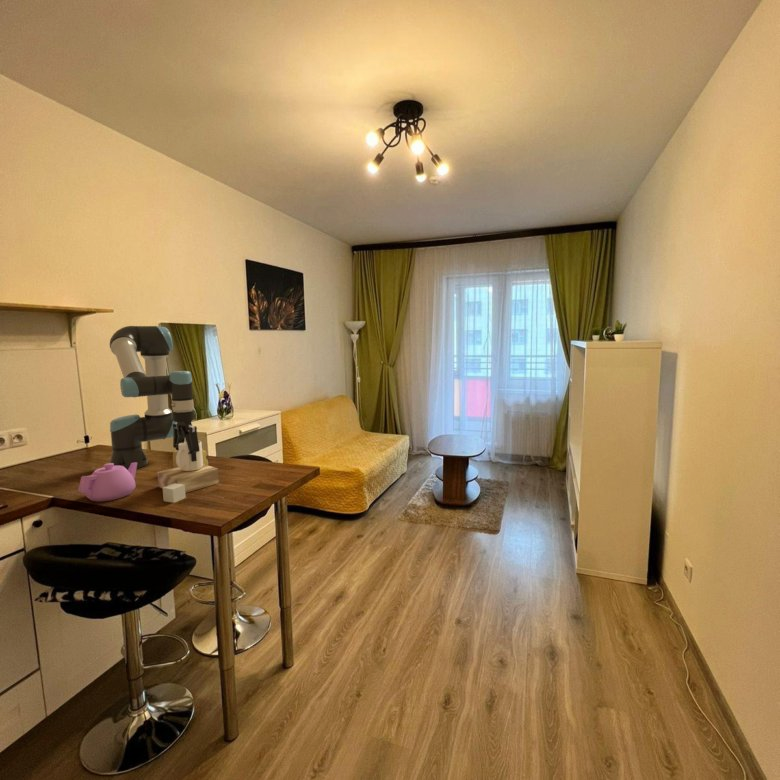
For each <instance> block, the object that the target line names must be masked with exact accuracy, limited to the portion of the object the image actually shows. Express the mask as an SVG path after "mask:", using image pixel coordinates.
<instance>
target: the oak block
mask: <svg viewBox="0 0 780 780" xmlns="http://www.w3.org/2000/svg"><path fill="white" fill-rule="evenodd" d="M156 473H157V486H158V488H160V489H162V490H163V487H166V486H169V485H171V484H174V483H176V484H183V485H185V494H188V493H190V492H194V491H197V490H200V489H203V488H207V487H210V486H213V485H216V484H219V483H220V482H219V481H220V480H219V468H218V467H215V466H211V465H209V464H208V465H204V464H203V467H202V468H200V469H198V470H193V471H183V470H181V469H180V468H179V467H176V468H174V467H172V468H169V469H164V470H161V471H157V472H156Z"/></svg>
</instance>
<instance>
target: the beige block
mask: <svg viewBox="0 0 780 780" xmlns="http://www.w3.org/2000/svg"><path fill="white" fill-rule="evenodd" d="M162 497H163V502H167V503H173V504H174V503H177V502H179V501H182V500H184V499H186V497H187V496H186V493H185V485H183V484H176V483H174V484H171V485H169V486H166V487H163V489H162Z"/></svg>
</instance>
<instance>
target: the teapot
mask: <svg viewBox="0 0 780 780" xmlns="http://www.w3.org/2000/svg"><path fill="white" fill-rule="evenodd" d="M113 465H114V463H110V462H107V463H104V464H103V467H100V468H97V469H95V470H94V471H93V472H92V474H90V475H82V476H81V477H80V482H79V485H78V489H77V491H78V493H80V494H82V495H84V496H86V498H88V500H91V501H92V502H108V501H113V500H118V499H121V498H125V497H126V496H127V497H128V496H129V495H130V494H132V493H133V491H134V490H135V488H136V481H135V479H136V474H137V469H138V468H137V462H134V463H131V465H130V467H129V469H128V470H127V469H126V468H125V467H123V466H113Z"/></svg>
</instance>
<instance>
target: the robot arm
mask: <svg viewBox="0 0 780 780" xmlns="http://www.w3.org/2000/svg"><path fill="white" fill-rule="evenodd" d="M172 338H173V337H172V334H171V332H170V329H168V328H167V327H166V326H160V325H158V326H157V325H148V326H147V325H128V326H123V327H121V328H119V329H118V330H116V331H115V332H114V333H113V334H112V336H111V338H110V340H109V348H110V351H111V353H112V354H113V355H114V356H115V357H116V360H117V362H118V365H119V368H120V371H121V373H122V376H123V378H121V379H120V380H119V381H120V382H119V383H120V384H119V385H120V392H121V393H120V394H121V395H122V397H124V398H138V397H139V398H140V397H146V400H147V403H146V404H147V410H146V411H144V416H140V415H139V414H129V415H128V414H127V415H124V416H120V417H117V418H114V419H112V420H111V421H110V422H109V426H110V427H109V432H110V437H111V438H110V439H111V450H112V452H111V455H110V459H109V463H114V465H113V466H123V467H125V468H126V469H127V470H128V469H129V467H130V465H131V463H134V462H137V468H136V469H139V468H142V467H145V466H147V465H148V464H149V463H148V457H147V455H146V453H145V451H144V450H143V444H142V443H144V442H150V441H157V440H158V441H159V440H165V439H171V438H173V440H172V441H173V442H172V444H173V445H172V447H173V448H174V449H175V451H176V450H177V453H178V451H179V447H178V444H179V443H184V442H187V445H188V449H189V453H188V456H189V469H190V470H193V469H197V457H196V452H199V451H200V449H199V443H198V441H199V437H198V431H197V430H198V429H197V428H198V427H197V425H195V426H193V423H192V422H193V421H195V419H196V418H195V410H194V409H195V402H194V392H193V391H194V389H193V377H192V372H191V371H189V370H175V371H171V372H170V373H169V375H167V362H166V361H167V358H168V357H169V356H170V352H172V351H173V349H174V345H173V344H174V342H173V339H172ZM138 353H140V357H142V359H144V367H143V363H142V362H141V360H140V357H139V355H138ZM144 369H145V370H144ZM169 395H170V396H171V404H170V405H171V406H172V409H170V407H169V397H168V396H169Z"/></svg>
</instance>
